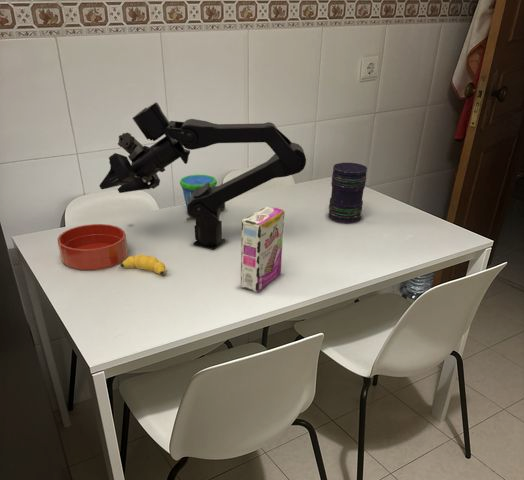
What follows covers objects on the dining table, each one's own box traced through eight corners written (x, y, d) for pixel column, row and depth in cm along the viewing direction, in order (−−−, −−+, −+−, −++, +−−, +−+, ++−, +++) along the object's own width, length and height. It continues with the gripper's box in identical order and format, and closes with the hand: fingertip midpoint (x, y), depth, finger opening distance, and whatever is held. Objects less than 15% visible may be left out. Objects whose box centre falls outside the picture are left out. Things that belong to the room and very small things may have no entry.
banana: (172, 265, 127) (168, 257, 124) (165, 280, 126) (161, 272, 123) (130, 256, 131) (125, 248, 128) (123, 271, 129) (117, 263, 126)
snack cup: (175, 207, 163) (172, 174, 157) (206, 202, 167) (205, 170, 161) (192, 224, 152) (190, 189, 146) (225, 219, 156) (225, 185, 150)
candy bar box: (258, 293, 119) (260, 224, 110) (240, 288, 121) (239, 220, 112) (282, 274, 127) (285, 209, 117) (264, 269, 129) (266, 204, 119)
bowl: (141, 251, 136) (138, 231, 133) (99, 276, 124) (95, 255, 121) (92, 239, 142) (88, 219, 139) (47, 262, 130) (42, 241, 127)
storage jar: (366, 216, 160) (373, 166, 152) (352, 226, 153) (359, 174, 145) (336, 209, 164) (341, 160, 156) (322, 218, 158) (326, 168, 149)
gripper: (158, 133, 136) (112, 165, 141) (125, 117, 118) (73, 154, 123) (179, 172, 137) (132, 203, 141) (148, 161, 119) (96, 197, 124)
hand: (109, 189), depth 132 cm, fingers open, 9 cm apart
